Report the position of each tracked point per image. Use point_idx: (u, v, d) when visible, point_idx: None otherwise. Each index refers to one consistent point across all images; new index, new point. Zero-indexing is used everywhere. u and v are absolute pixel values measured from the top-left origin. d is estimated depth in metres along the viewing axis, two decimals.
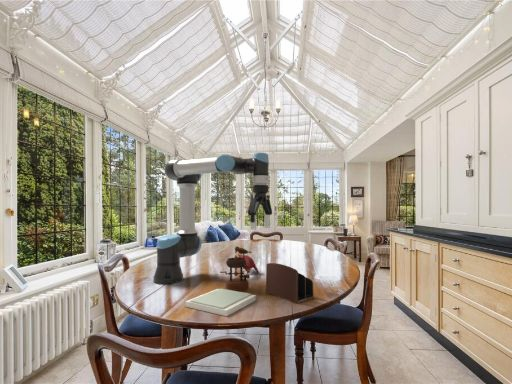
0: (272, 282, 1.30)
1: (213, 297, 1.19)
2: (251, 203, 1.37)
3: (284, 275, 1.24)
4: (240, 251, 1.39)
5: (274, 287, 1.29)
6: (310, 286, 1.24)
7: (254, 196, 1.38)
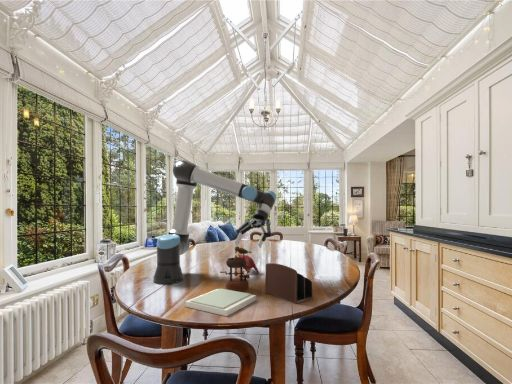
0: (271, 282, 1.30)
1: (213, 297, 1.19)
2: (269, 226, 1.51)
3: (283, 275, 1.24)
4: (240, 251, 1.39)
5: (273, 287, 1.29)
6: (309, 286, 1.24)
7: (269, 222, 1.55)
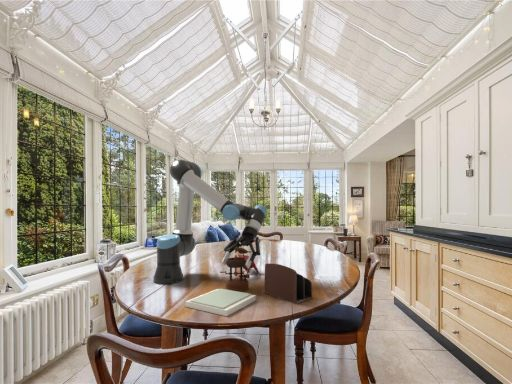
0: (270, 282, 1.30)
1: (213, 297, 1.19)
2: (258, 245, 1.42)
3: (283, 275, 1.24)
4: (240, 251, 1.39)
5: (272, 287, 1.28)
6: (309, 286, 1.24)
7: (259, 240, 1.45)
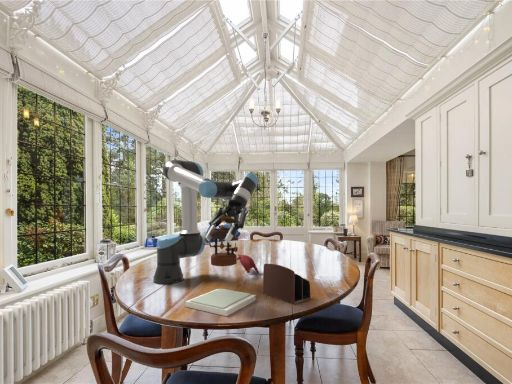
0: (269, 283, 1.29)
1: (213, 297, 1.19)
2: (243, 216, 1.21)
3: (281, 276, 1.23)
4: (226, 220, 1.20)
5: (271, 288, 1.28)
6: (307, 287, 1.23)
7: (246, 212, 1.24)
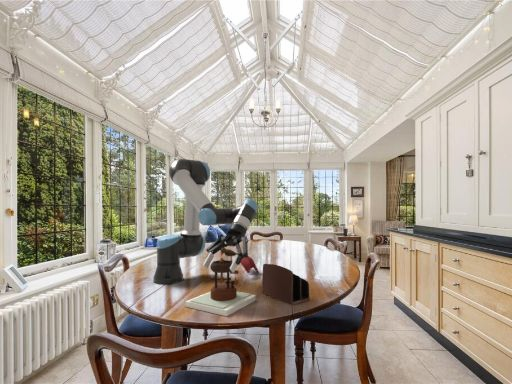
0: (268, 283, 1.29)
1: None
2: (246, 245, 1.21)
3: (279, 276, 1.23)
4: (227, 253, 1.19)
5: (270, 288, 1.28)
6: (306, 287, 1.22)
7: (247, 240, 1.24)
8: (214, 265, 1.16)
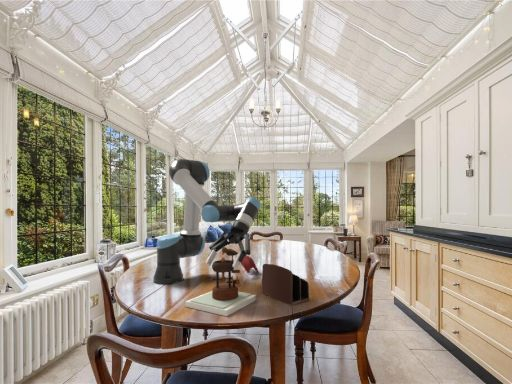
0: (268, 283, 1.29)
1: None
2: (248, 242, 1.22)
3: (279, 276, 1.23)
4: (228, 252, 1.19)
5: (269, 288, 1.27)
6: (306, 288, 1.22)
7: (249, 237, 1.25)
8: (217, 265, 1.16)
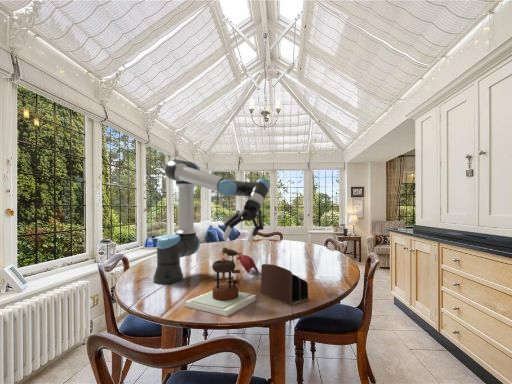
0: (267, 283, 1.28)
1: None
2: (261, 219, 1.33)
3: (278, 276, 1.22)
4: (229, 253, 1.19)
5: (269, 288, 1.27)
6: (305, 288, 1.22)
7: (262, 214, 1.36)
8: (217, 265, 1.16)
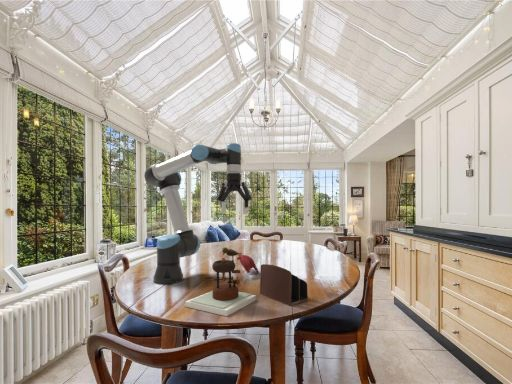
0: (266, 284, 1.28)
1: None
2: (246, 190, 1.50)
3: (278, 277, 1.22)
4: (229, 253, 1.19)
5: (268, 289, 1.27)
6: (304, 288, 1.22)
7: (245, 184, 1.51)
8: (217, 265, 1.16)
